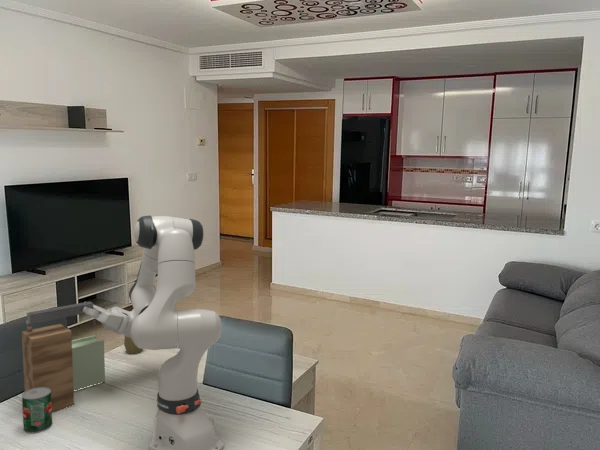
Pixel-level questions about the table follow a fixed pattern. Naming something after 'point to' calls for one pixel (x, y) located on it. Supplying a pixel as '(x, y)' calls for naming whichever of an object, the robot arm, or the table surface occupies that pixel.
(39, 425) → the canned tomato
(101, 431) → the table surface
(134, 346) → the squeeze bottle
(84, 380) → the pale green block
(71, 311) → the strut
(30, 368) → the tower
